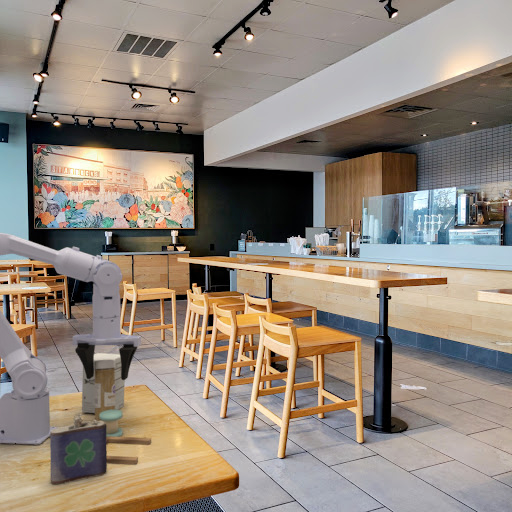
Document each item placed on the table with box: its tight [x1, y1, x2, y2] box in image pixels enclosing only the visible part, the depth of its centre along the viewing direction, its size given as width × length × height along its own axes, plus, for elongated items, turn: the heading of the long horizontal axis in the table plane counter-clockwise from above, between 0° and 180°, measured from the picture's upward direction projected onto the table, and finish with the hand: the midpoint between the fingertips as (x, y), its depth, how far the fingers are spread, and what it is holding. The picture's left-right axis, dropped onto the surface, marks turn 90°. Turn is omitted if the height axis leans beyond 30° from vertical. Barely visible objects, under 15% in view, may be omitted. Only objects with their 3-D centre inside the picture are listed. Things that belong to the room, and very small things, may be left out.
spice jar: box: [94, 359, 115, 422], centre depth 110 cm, size 5×5×13 cm
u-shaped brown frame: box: [106, 436, 152, 465], centre depth 96 cm, size 10×10×1 cm
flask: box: [49, 413, 108, 485], centre depth 86 cm, size 9×3×11 cm, turn 117°
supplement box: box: [81, 352, 126, 414], centre depth 117 cm, size 7×7×13 cm
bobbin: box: [99, 409, 124, 437], centre depth 103 cm, size 5×5×4 cm
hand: (107, 378), depth 108 cm, fingers open, 7 cm apart
